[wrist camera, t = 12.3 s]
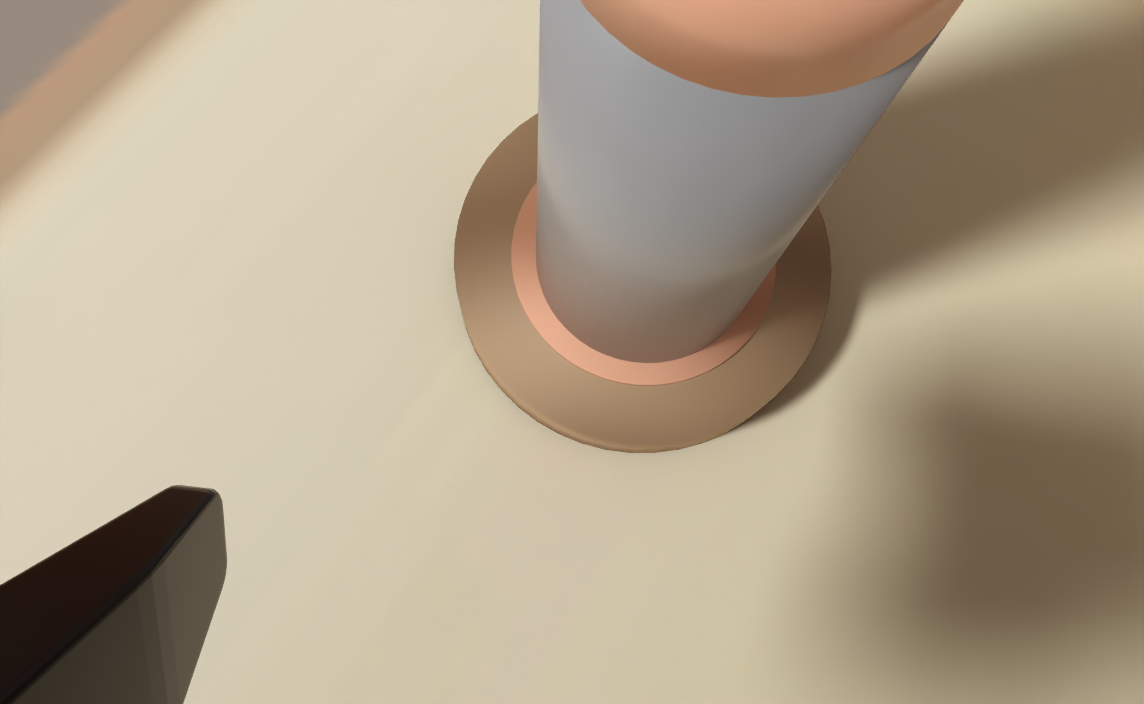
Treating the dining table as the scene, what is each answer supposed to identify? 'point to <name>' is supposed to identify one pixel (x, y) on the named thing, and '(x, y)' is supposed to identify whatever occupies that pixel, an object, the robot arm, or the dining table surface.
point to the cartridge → (698, 150)
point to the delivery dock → (602, 383)
